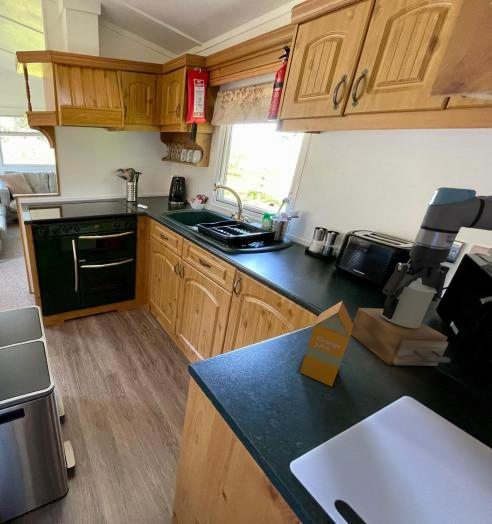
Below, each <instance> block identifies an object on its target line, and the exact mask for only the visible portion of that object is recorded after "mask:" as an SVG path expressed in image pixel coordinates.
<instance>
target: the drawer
mask: <svg viewBox="0 0 492 524" xmlns="http://www.w3.org/2000/svg"><path fill="white" fill-rule="evenodd" d="M448 345H449V342H448V341H447V340H446V341H445V340H431V339H402V341H401V343H400V346H399V348H398V350H397V353H396V355H395V357H394V359H393V362H392V363H394V364H395V365H394V366H417V367H419V366H423V367H425V366H426V367H427V366H428V367H438V365H439V364H441V363H443V364H448V363H451V358H449V357H448V356H443V355H444V353H445V352H446V350H447V348H448Z"/></svg>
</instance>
